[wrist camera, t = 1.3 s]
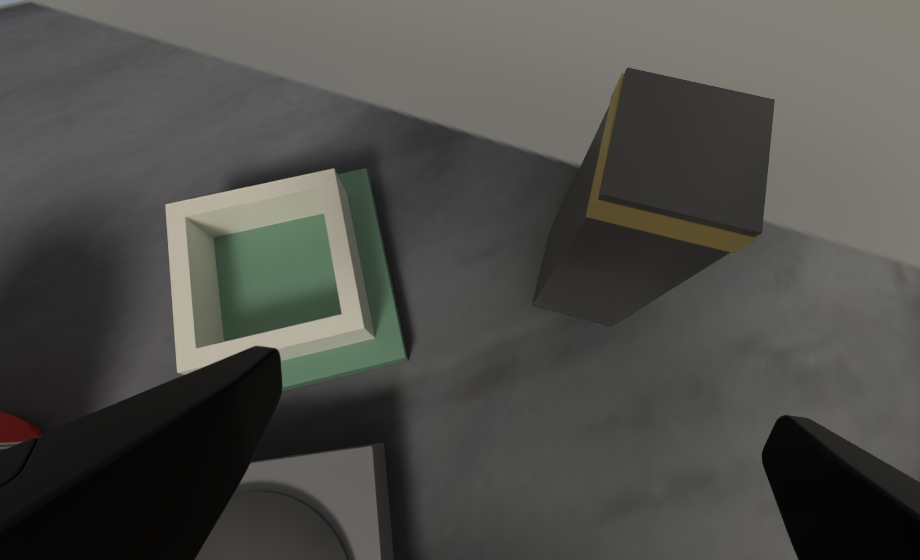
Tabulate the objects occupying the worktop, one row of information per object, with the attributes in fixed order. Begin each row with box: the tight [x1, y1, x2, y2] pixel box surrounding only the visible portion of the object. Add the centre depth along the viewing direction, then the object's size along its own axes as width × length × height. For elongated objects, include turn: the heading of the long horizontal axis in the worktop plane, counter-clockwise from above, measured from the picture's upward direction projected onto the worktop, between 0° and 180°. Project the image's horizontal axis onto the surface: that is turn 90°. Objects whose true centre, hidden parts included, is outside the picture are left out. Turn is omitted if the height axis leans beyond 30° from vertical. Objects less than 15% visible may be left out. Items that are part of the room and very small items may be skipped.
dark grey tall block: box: [532, 68, 774, 326], centre depth 18 cm, size 5×4×12 cm
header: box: [166, 168, 409, 392], centre depth 22 cm, size 10×10×4 cm
